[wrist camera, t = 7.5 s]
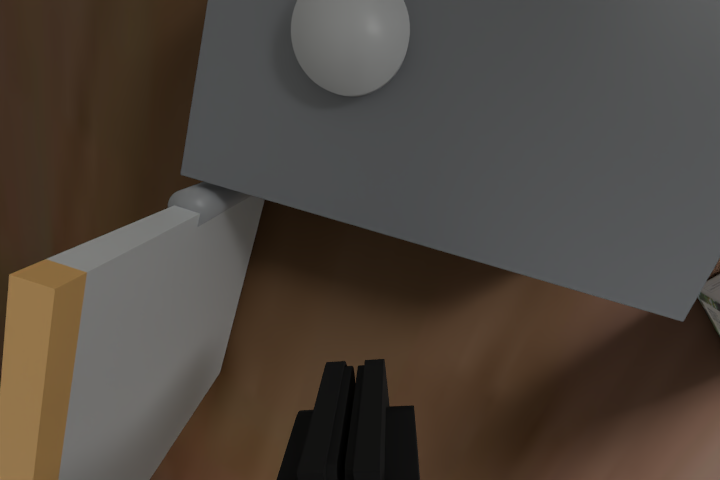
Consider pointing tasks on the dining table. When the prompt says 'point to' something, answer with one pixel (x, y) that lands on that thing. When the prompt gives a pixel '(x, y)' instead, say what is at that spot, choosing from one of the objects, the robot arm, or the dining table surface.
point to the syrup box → (712, 301)
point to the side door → (122, 339)
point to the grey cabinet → (481, 130)
